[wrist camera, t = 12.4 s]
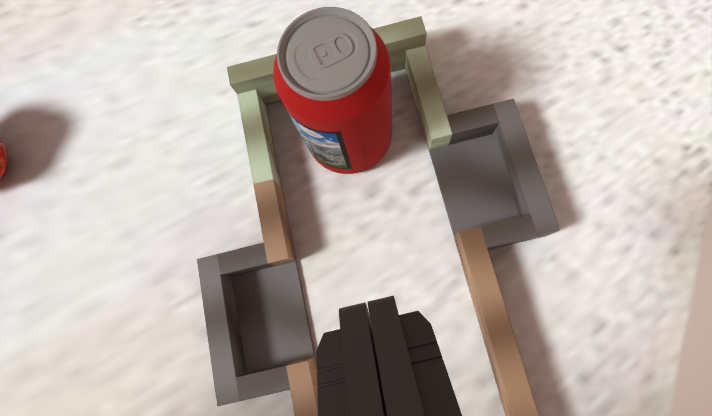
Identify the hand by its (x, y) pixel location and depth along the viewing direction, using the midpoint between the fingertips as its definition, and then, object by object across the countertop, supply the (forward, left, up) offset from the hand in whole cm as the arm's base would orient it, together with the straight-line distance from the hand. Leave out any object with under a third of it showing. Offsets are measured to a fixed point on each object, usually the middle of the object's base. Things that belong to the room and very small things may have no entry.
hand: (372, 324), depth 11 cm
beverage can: (-8, +12, -20) cm, 24 cm away
